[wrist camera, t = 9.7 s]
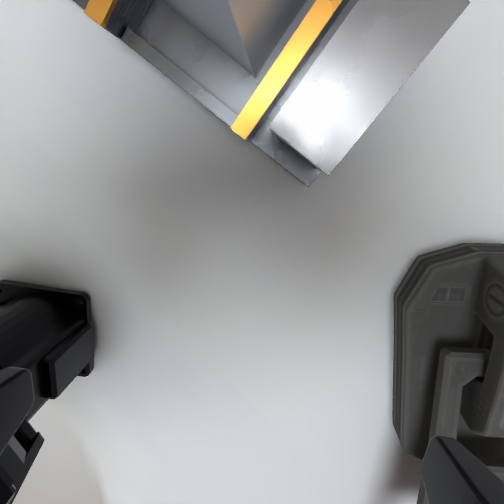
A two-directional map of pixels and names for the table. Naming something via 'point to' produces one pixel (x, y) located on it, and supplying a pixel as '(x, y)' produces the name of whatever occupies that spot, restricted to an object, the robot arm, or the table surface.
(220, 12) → the pale blue square pillar
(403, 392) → the zipper pull
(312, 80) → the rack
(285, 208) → the table surface
